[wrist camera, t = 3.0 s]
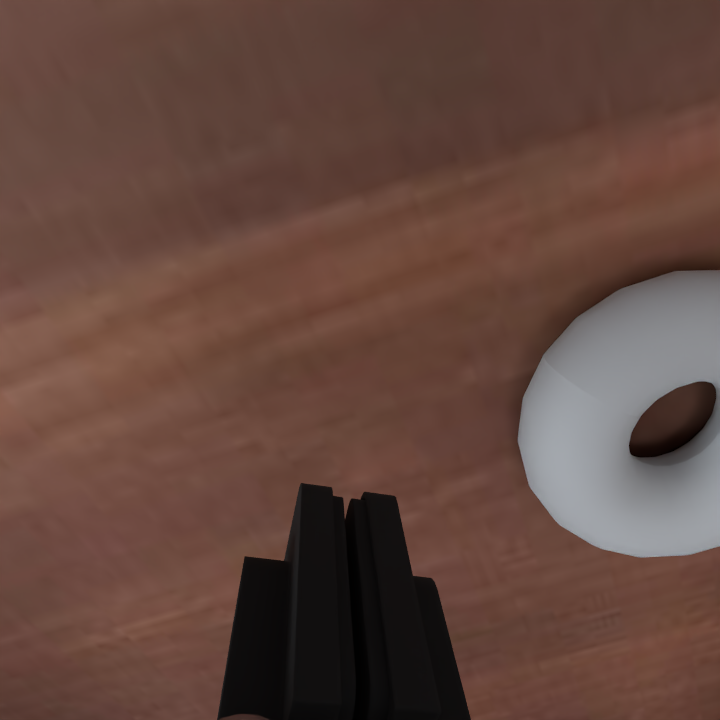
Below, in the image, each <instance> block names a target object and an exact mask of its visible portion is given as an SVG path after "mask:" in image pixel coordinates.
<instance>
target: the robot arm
mask: <svg viewBox="0 0 720 720" xmlns="http://www.w3.org/2000/svg"><path fill="white" fill-rule="evenodd" d="M217 720H471V718H470V715H469V711H468V707H467V703H466V699H465V695H464V691H463V687H462V683H461V680H460V676H459V672H458V668H457V664H456V660H455V656H454V652H453V648H452V645H451V641H450V637H449V633H448V629H447V625H446V621H445V617H444V614H443V610H442V606H441V602H440V598H439V594H438V590H437V587H436V585H435V582H434V581H433V580H432V579H431V578H426V577H418V576H413V575H412V570H411V565H410V560H409V556H408V551H407V546H406V542H405V537H404V532H403V527H402V523H401V518H400V513H399V508H398V504H397V500H396V497H395V496H392V495H384V494H377V493H370V492H364V493H363V495H362V497H361V500H359V499H351V500H350V503H349V506H348V510H347V514H346V518H345V517H344V503H343V498H342V497H337V496H333V491H332V487H326V486H318V485H311V484H304V483H301V484H300V487H299V492H298V496H297V501H296V506H295V511H294V516H293V521H292V525H291V530H290V535H289V540H288V545H287V550H286V554H285V559H284V561H280V560H271V559H263V558H254V557H246V556H245V558H244V563H243V569H242V575H241V581H240V586H239V592H238V598H237V604H236V610H235V616H234V622H233V628H232V634H231V640H230V646H229V652H228V658H227V664H226V670H225V676H224V682H223V688H222V694H221V700H220V706H219V712H218V718H217Z"/></svg>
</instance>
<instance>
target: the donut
mask: <svg viewBox="0 0 720 720" xmlns="http://www.w3.org/2000/svg"><path fill="white" fill-rule="evenodd" d="M698 381H706V382H710V383H712V384H713V385H714V387H715V389H716V401H715V405H714V408H713V412H712V415H711V416H710V418H709V420H708V421H707V423H706V424H705V426H704V428H703V429H702V430H701V431H700V432H699V433H698V434H697V435H696V436H695V437H694V438H693V439H692V440H690V441H689V442H688V443H687V444H685V445H683V446H681V447H680V448H678V449H676V450H675V451H673V452H670V453H667V454H663V455H660V456H657V457H643V458H639V457H635V456H632V455H631V454H630V451H629V441H630V437H631V432H632V431H633V429H634V427H635V425H636V424H637V422H638V420H639V418H640V417H641V415H642V414H643V413H644V412H645V411H646V410H647V409H648V408H649V407H650V406H651V405H652V404H653V403H654V402H655V401H656V400H657V399H659V398H661V397H662V396H664V395H665V394H667V393H669V392H670V391H672V390H674V389H675V388H678V387H681V386H684V385H688V384H691V383H694V382H698ZM518 444H519V448H520V452H521V456H522V460H523V464H524V468H525V472H526V476H527V480H528V483H529V487H530V488H531V489H532V491H533V492H534V493H535V495H536V496H537V497H538V499H539V500H540V501H541V503H542V504H543V505H544V507H545V508H546V509H547V511H548V512H549V513H550V515H551V516H552V517H553V518H554V519H555V521H556V522H557V523H558V524H559V525H560V526H562V527H564V528H565V529H567V530H569V531H570V532H572V533H574V534H575V535H577V536H579V537H580V538H582V539H583V540H585V541H587V542H588V543H590V544H592V545H594V546H596V547H598V548H601V549H604V550H609V551H613V552H618V553H622V554H626V555H631V556H635V557H659V556H680V555H690V554H694V553H697V552H701V551H704V550H708V549H711V548H715V547H718V546H720V270H701V271H673V272H670V273H667V274H664V275H661V276H658V277H655V278H652V279H649V280H646V281H643V282H640V283H637V284H633V285H630V286H627V287H624V288H622V289H619V290H617V291H616V292H614V293H613V294H611V295H610V296H608V297H607V298H605V299H604V300H602V301H601V302H599V303H598V304H596V305H595V306H593V307H591V308H590V309H588V310H587V311H585V312H584V313H582V314H581V315H579V316H578V317H576V318H575V319H574V320H573V322H572V323H571V324H570V325H569V326H568V327H567V328H566V329H565V331H564V332H563V333H562V334H561V335H560V336H559V337H558V338H557V339H556V341H555V342H554V343H553V344H552V345H551V346H550V347H549V348H548V350H547V351H546V352H545V353H544V354H543V357H542V359H541V361H540V363H539V365H538V367H537V369H536V371H535V373H534V375H533V377H532V380H531V382H530V384H529V386H528V388H527V390H526V392H525V394H524V397H523V400H522V408H521V416H520V424H519V432H518Z"/></svg>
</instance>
